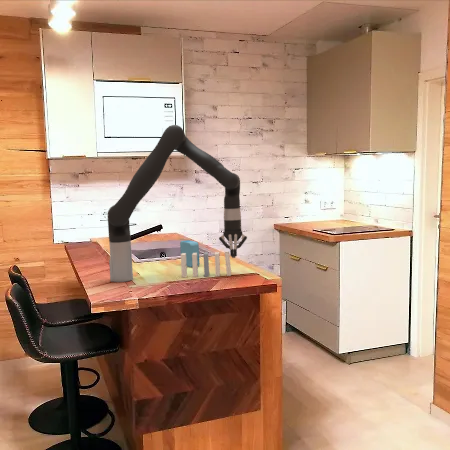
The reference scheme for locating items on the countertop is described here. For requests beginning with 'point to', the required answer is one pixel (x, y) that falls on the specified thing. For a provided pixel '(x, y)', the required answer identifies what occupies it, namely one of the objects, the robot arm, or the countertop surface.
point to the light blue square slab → (189, 251)
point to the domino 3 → (206, 264)
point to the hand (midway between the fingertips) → (233, 257)
